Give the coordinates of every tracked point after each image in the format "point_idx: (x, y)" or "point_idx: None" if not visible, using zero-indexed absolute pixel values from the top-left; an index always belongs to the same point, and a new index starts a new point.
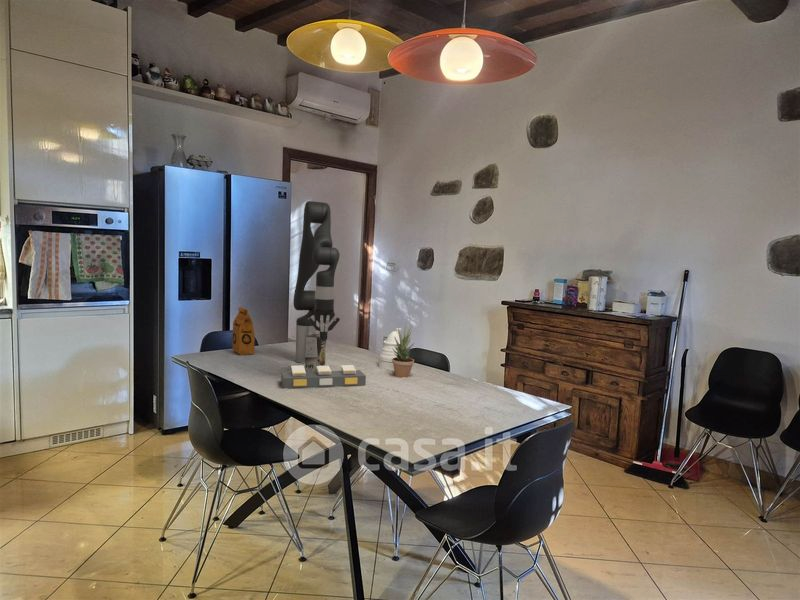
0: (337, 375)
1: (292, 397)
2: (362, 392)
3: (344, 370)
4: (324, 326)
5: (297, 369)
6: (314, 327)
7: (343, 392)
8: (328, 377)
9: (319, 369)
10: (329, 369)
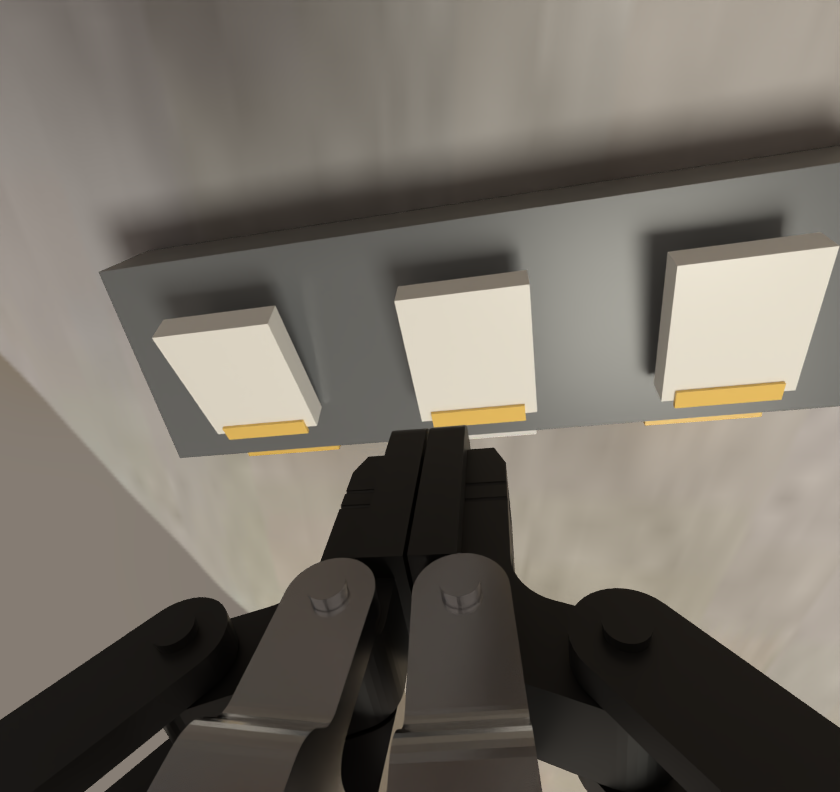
0: (590, 388)
1: (296, 569)
2: (714, 517)
3: (672, 388)
4: (423, 719)
5: (232, 386)
6: (133, 782)
7: (587, 510)
8: (504, 431)
9: (427, 378)
10: (524, 373)
